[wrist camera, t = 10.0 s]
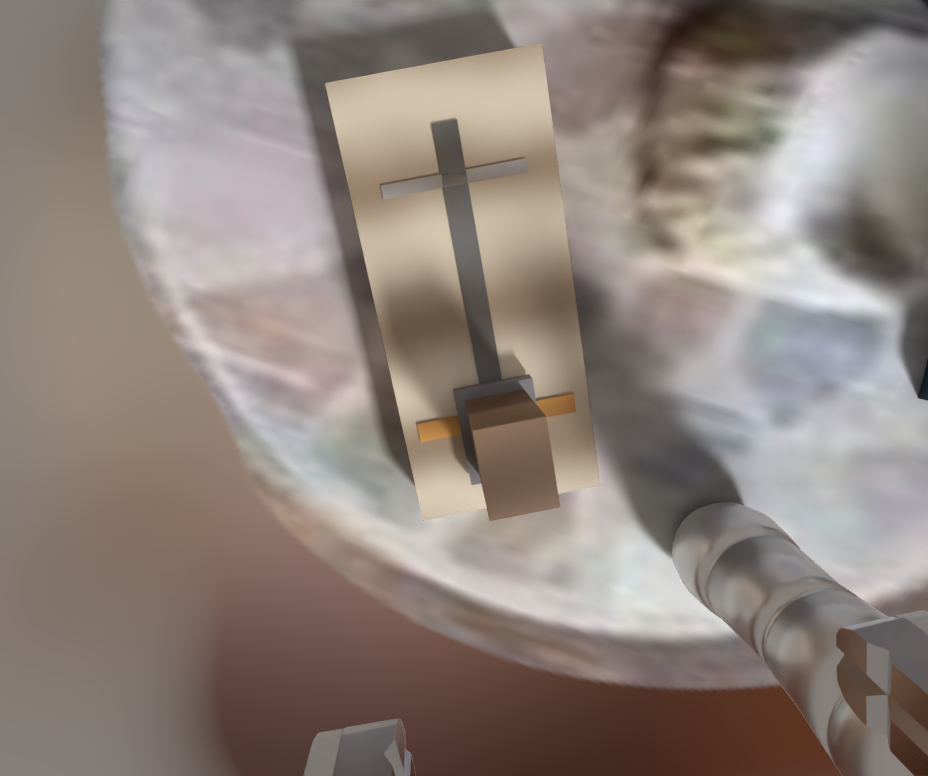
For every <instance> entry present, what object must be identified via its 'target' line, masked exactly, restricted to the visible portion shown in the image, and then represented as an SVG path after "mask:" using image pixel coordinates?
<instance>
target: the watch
mask: <svg viewBox="0 0 928 776" xmlns="http://www.w3.org/2000/svg"><path fill="white" fill-rule="evenodd" d="M919 398H920V399H924V400H928V360H927V364H926V368H925V373H924V377H923V381H922V385H921V390H920V394H919Z"/></svg>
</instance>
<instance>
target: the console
mask: <svg viewBox="0 0 928 776" xmlns="http://www.w3.org/2000/svg"><path fill="white" fill-rule="evenodd" d="M325 85H326V90H327V94H328V99H329V103H330V108H331V112H332V117H333V121H334V125H335V130H336V134H337V139H338V143H339V148H340V152H341V157H342V161H343V166H344V170H345V175H346V179H347V183H348V188H349V192H350V197H351V201H352V206H353V210H354V215H355V219H356V224H357V228H358V232H359V237H360V241H361V246H362V250H363V255H364V259H365V264H366V268H367V273H368V277H369V281H370V286H371V290H372V295H373V299H374V304H375V308H376V313H377V317H378V322H379V326H380V330H381V335H382V339H383V344H384V348H385V353H386V357H387V362H388V366H389V371H390V375H391V379H392V384H393V388H394V393H395V397H396V402H397V406H398V411H399V415H400V420H401V424H402V428H403V433H404V437H405V442H406V446H407V451H408V455H409V460H410V464H411V469H412V473H413V477H414V482H415V486H416V491H417V495H418V500H419V504H420V509H421V513H422V518H423V520H428V519H433V518H438V517H443V516H449V515H454V514H459V513H464V512H469V511H474V510H479V509H484V508H487V507H486V502H485V498H484V493H483V489H482V484H476V485H471V480H470V475H469V470H468V465H467V460H466V455H465V449H464V444H463V439H462V434H461V429H460V424H459V419H458V414H457V409H456V404H455V399H454V394H453V389H455V388H460V387H465V386H471V385H476V384H481V383H486V382H491V381H496V380H501V379H506V378H512V377H517V376H522V375H527V374H529V375H530V376H531V377H532V379H533V385H534V391H535V398H536V404H537V406H538V407H539V408H540V409H541V411H542V412H543V413H544V414H545V416H546V418H547V424H548V431H549V437H550V444H551V450H552V457H553V463H554V470H555V476H556V483H557V489H558V494H559V493H564V492H569V491H574V490H579V489H584V488H589V487H594V486H600V478H599V470H598V463H597V455H596V448H595V440H594V433H593V425H592V418H591V410H590V403H589V395H588V387H587V380H586V372H585V365H584V357H583V350H582V342H581V335H580V327H579V320H578V312H577V305H576V297H575V290H574V282H573V275H572V267H571V260H570V252H569V245H568V237H567V230H566V222H565V215H564V207H563V199H562V192H561V184H560V177H559V169H558V162H557V154H556V147H555V139H554V132H553V124H552V117H551V109H550V102H549V94H548V87H547V79H546V72H545V64H544V57H543V49H542V43H539V44H534V45H528V46H523V47H518V48H512V49H507V50H501V51H496V52H490V53H485V54H480V55H474V56H469V57H463V58H458V59H452V60H447V61H442V62H436V63H431V64H425V65H420V66H414V67H409V68H404V69H398V70H393V71H387V72H382V73H376V74H371V75H366V76H360V77H355V78H349V79H344V80H338V81H333V82H328V83H325Z"/></svg>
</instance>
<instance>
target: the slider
mask: <svg viewBox="0 0 928 776" xmlns="http://www.w3.org/2000/svg"><path fill="white" fill-rule="evenodd" d="M453 394H454V399H455V404H456V409H457V414H458V419H459V424H460V429H461V434H462V439H463V444H464V449H465V455H466V460H467V465H468V470H469V475H470V480H471V485H476V484H482V489H483V493H484V498H485V502H486V507H487V511H488V515H489V520H490V521H493V520H498V519H503V518H508V517H513V516H518V515H523V514H528V513H533V512H538V511H543V510H548V509H553V508H558V507H560V502H559V496H558V489H557V483H556V476H555V470H554V463H553V457H552V450H551V444H550V437H549V431H548V424H547V418H546V416H545V414H544V413H543V412H542V411H541V409H540V408H539V407H538V406H537V404H536V398H535V391H534V385H533V379H532V377H531V376H530V375H529V374H527V375H522V376H517V377H512V378H506V379H501V380H496V381H491V382H486V383H481V384H476V385H471V386H465V387H460V388H455V389H453Z"/></svg>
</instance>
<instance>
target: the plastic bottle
mask: <svg viewBox="0 0 928 776" xmlns="http://www.w3.org/2000/svg"><path fill="white" fill-rule="evenodd" d="M672 556H673V562H674V565H675V567H676V570H677V572H678V574H679V576H680V578H681V580H682V582H683V583H684V585H685V586H686V588H687V589H688V591H689V592H690V593H691V594H692V595H693V596H694V597H695V598H697V599H698V600H699V601H700V602H701V603H702V604H703V605H704V606H705V607H706V608H708V609H709V610H710V611H711V612H713V613H714V614H715V615H717V616H718V617H720V618H721V619H722V620H723V621H724V622H726V623H727V624H728V625H729V626H730V627H731V628H732V629H733V630H734V631H735V632H736V633H737V634H738V635H739V636H740V637H741V638H742V639H743V640H744V641H745V642H746V643H747V644H748V645H749V646H750V647H751V648H752V649H753V650H754V651H755V652H756V654H757V655H758V656H759V657H760V659H761V660H762V661H763V663H764V664H765V665H766V667H767V668H768V669H769V670H770V671H771V672H772V674H773V675H774V677H775V678H776V679H777V681H778V682H779V683H780V685H781V686H782V687H783V689H784V690H785V691H786V692H787V694H788V695H789V696H790V698H791V699H792V700H793V701H794V703H795V704H796V705H797V707H798V708H799V710H800V712H801V713H802V715H803V716H804V717H805V719H806V721H807V722H808V724H809V725H810V727H811V728H812V730H813V731H814V733H815V735H816V736H817V738H818V739H819V741H820V742H821V744H822V745H823V747H824V748H825V750H826V751H827V753H828V754H829V756H830V757H831V759H832V761H833V762H834V764H835V766H836V767H837V769H838V770H839V772H840V773H841V775H842V776H914V775H913V774H912V773H911V772H910V771H909V770H908V769H907V768H906V767H905V766H904V765H903V764H902V763H901V762H900V761H899V760H898V759H897V758H896V757H895V755H894V754H893V753H892V752H891V751H890V748H889V744H888V739H887V736H885V735H883V734H881V733H879V732H877V731H875V730H873V729H871V728H869V727H867V726H866V725H865V724H864V723H863V722H862V721H861V720H860V719H859V718H858V717H857V715H856V714H855V713H854V712H853V711H852V709H851V708H850V706H849V705H848V703H847V702H846V700H845V699H844V697H843V694H842V692H841V689H840V687H839V685H838V682H837V668H836V666H837V665H838V663H839V662H840V660H841V659H842V657H843V656H844V653H843V652H842V651H841V650H840V649H839V648H838V647H837V646H836V634H837V632H838V631H839V629H840V628H841V627H846V626H851V625H855V624H860V623H864V622H869V621H874V620H878V619H883V618H887V616H886V615H884V614H883V613H881V612H880V611H878V610H877V609H875V608H874V607H872V606H871V605H870V604H868V603H867V602H865V601H864V600H862V599H860V598H859V597H857V596H856V595H855V594H853V593H852V592H850V591H849V590H847V589H846V588H844V587H843V586H841V585H840V584H839V583H838V582H837V581H835V580H834V579H833V578H832V577H831V576H830V575H829V574H827V573H826V572H825V571H824V570H823V569H822V568H821V567H820V566H818V565H817V564H816V563H815V562H814V561H813V560H812V559H810V558H809V557H808V556H807V555H806V554H805V553H804V552H803V551H801V550H800V548H799V547H798V546H797V544H796V543H795V542H794V541H793V540H792V539H791V538H790V536H789V535H788V534H787V533H786V532H785V531H784V530H783V529H782V528H780V527H779V526H778V525H777V524H776V523H775V522H774V521H773V520H772V519H771V518H769V517H768V516H766V515H764V514H762V513H760V512H758V511H756V510H753V509H751V508H749V507H746V506H744V505H741V504H738V503H732V502H720V503H715V504H710V505H706V506H703V507H701V508H698V509H697V510H695V511H693V512H692V513H690V514H689V515H688V516H687V517H686V518H685V519H684V520H683V521H682V523H681V524H680V525H679V527H678V529H677V531H676V534H675V538H674V541H673V546H672Z"/></svg>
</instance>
